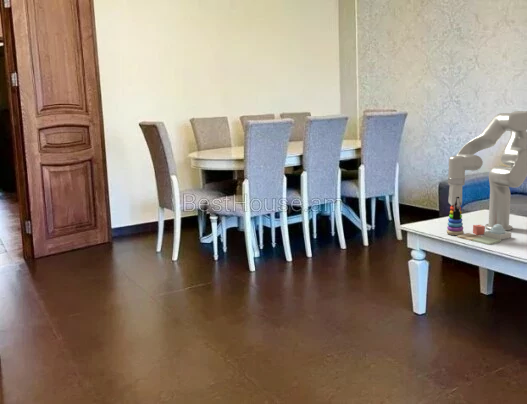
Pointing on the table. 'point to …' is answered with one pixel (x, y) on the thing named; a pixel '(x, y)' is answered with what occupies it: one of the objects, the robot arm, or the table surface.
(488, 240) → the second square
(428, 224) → the table surface
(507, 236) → the popper housing
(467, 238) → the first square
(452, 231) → the stacking toy
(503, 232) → the dome
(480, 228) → the die
